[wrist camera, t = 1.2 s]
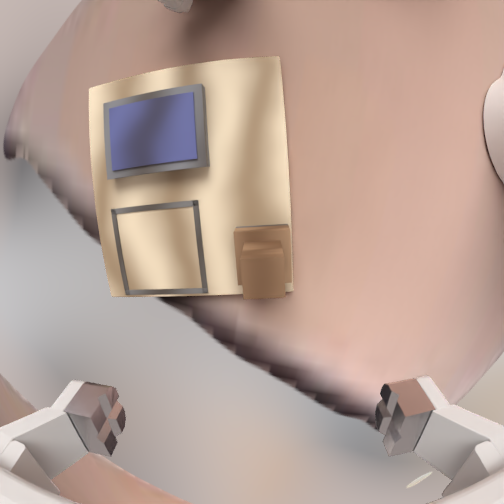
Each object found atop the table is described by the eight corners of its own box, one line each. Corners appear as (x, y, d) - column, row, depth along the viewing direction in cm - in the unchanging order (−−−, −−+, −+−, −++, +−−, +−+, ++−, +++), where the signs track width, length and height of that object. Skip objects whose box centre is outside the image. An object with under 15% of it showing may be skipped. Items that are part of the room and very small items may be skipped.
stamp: (287, 223, 26) (296, 244, 19) (289, 272, 27) (297, 307, 20) (236, 226, 26) (226, 247, 19) (240, 275, 27) (232, 310, 21)
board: (279, 59, 23) (280, 49, 20) (292, 287, 28) (295, 299, 26) (94, 90, 24) (80, 85, 21) (115, 293, 29) (104, 303, 27)
